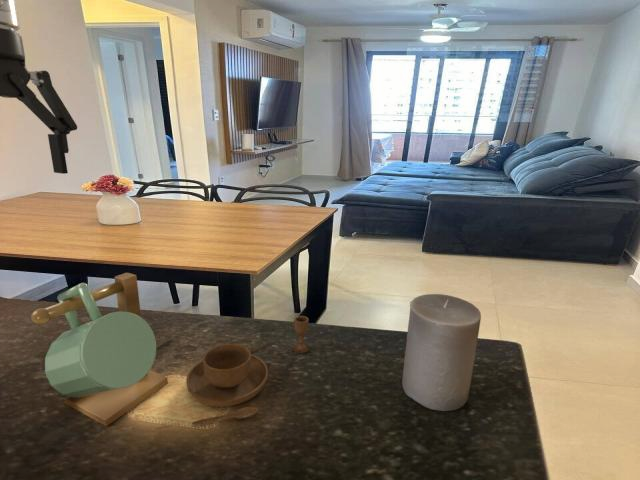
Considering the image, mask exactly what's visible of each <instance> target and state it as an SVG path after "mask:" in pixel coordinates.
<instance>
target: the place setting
mask: <svg viewBox="0 0 640 480" xmlns="http://www.w3.org/2000/svg"><path fill="white" fill-rule="evenodd" d="M293 322H294V323H293V324H294V327H293V328H294V332H295V334H297V335H298V339H297V342H298V343H297V344H295V345H294V346H293V347H292V350H293V352H294V353H297V354H305V353H308V352H309V351H310V347H309V346H308V345H307V344H305V339H304V336H305V335H306V334H307V333H308V331H309V325H310V323H309V317H307V316H305V315H298V316H295V318H294V321H293ZM261 349H263V345H262V343H260V344H257V345H253V346H251V347H246V346H245V345H242V344H239V343H225V344H223V343H222V344H219V345H217V346H214V347H211V348H210V349H208V350H207V351H206V352H205V353H204V355H203V358H202V360H200V361H198V362H197V363H195V365H193V366H192V367H191V369H189V371H188V373H187V375H186V379H185V385H186V389H187V391H188V394H190V396H191V397H192V398H193V399H194V400H195V401H197V402H199V403H201V404H203V405H205V406H210V407H215V408H216V407H218V408H219V407H220V408H221V407H222V408H223V407H231V406H236V405H237V406H238V405H240V404H242V403H245V402H247V401H249V400H251V399H252V398H255V397H256V396H257V395H258V394H260V392H262V390H263V389H264V387H265V386H266V384H267V382H268V378H269V369H268V365H267V364H266V362H265V361H264V360H263V359H262V358H260V357H258V356H257V355H255V354H252V352H255V351H257V350H261ZM258 411H259V408H257V407H255V406H245V407H244V406H243V407H241V408H239V409H237V410H236V411H234V412H231V413H227V414H222V415H218V416H213V417H207V418H203V419H199V420H198V419H197V420H195V421H193V422H192V423H191V425H200V424H201V425H202V424H206V423H209V422H213V421H214V422H215V421H217V420H222V419H223V420H224V419H228V418H235V419H238V420H239V419H240V420H241V419H248V418H251V417H253V416H254V415H256V414H257V413H258Z"/></svg>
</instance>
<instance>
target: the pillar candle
mask: <svg viewBox="0 0 640 480" xmlns="http://www.w3.org/2000/svg"><path fill="white" fill-rule="evenodd" d="M409 307H410V308H409V314H408V315H409V317H408V326H407V334H406V344H405V352H404V362H403V370H402V379H401V381H402V383H401V385H402V389H403V391H404V393H405V395H407V396H408V397H409V398H410V399H412V400H413V401H415V402H416V403H418V405H419V404H420V405H421V406H423V407H424V408H427V409H429V410H433V411H437V412H450V411H455V410H459V409H461V408H462V407H463V406H465V404H466V403H467V402H468V401H469V397H470V396H469V395H470V389H471V383H472V378H473V372H474V367H475V366H474V365H475V360H476V359H475V358H476V351H477V347H478V340H479V333H480V327H481V322H482V321H481V319H482V314H481V311H480V309H479V308H478V307H477V306H475V305H474V304H473V303H471V302H469V301H467V300H465V299H463V298H460V297H457V296H453V295H448V294H442V293H428V294H427V293H426V294H421V295H418V296H416V297H414V298H413V299H412V300H411V301H409Z"/></svg>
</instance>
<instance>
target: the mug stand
mask: <svg viewBox="0 0 640 480" xmlns="http://www.w3.org/2000/svg"><path fill="white" fill-rule="evenodd" d="M138 286H139V285H138V277H137V274H134V273H130V272H124V273H122V274H118V275H116V276H114V282H113V283H110V284H107V285H104V286H102V287H100V288H97V289H94V290H90V292H91V294H92V296H93V298H94V300H95V302H97V301H101V300H103V299H105V298H109V297H111V296H113V295H116V300H117V308H118V312H130V313H133V314H135V315H137V316H139V317H141V318H142V312H141V303H140V295H139V287H138ZM82 307H85V305H84V303H83V301H82V298H81V296H80V295H77V296H75V297H73V298H71V299H69V300H66V301H64V302H61V303H59V302H58V303H56V304H53V305H50V306H48V307H45V308H44V307H43V308H37V309H35V310H33V311H32V313H31V315H30V320H31V322H32V323H33V324H35V325H44V324H46V323H48V322H49V321H50V320H53V319H54V318H57V317H60V316H62V315H65V313H67V312H70V311H72V310H77V309H80V308H82ZM168 383H169V378H168V376H165V375H163V374H161V373H158V372H155V371H154V370H151V369H150V370H149V372H148V373H147V374H146V375H145V376H144V377H143V378H142V379H141V380H140V381H138V382H137V383H135V384H133V385H131V386H129V387H126V388H121V389H117V390H112V391H107V392H103V393H98V394H94V395H89V396H83V397H78V398H76V397H71V396H70V397H69V398H67V399H65V400H63V401H62V403H63V404H65V405H66V406H68V407H70V408H72V409H73V410H75V411H77V412H79V413H81V414H82V415H84V416H86V417H88V418H90V419H92V420H94V421H95V422H98V423H99V424H101V425H103V426H104V427H108V426H109V425H110V424H112V423H113V422H115V421H116V420H118V419H119V418H120V417H122V416H123V415H124V414H126V413H127V412H129V411H130V410H132V409H134V408H135V407H136V406H137V405H139V404H140V403H142V402H143V401H144V400H146V399H147V398H148V397H151V395H154V393H156V392H157V391H158V390H160V389H161V388H163V387H164V386H166V385H167V384H168Z"/></svg>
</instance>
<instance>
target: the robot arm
mask: <svg viewBox="0 0 640 480" xmlns="http://www.w3.org/2000/svg"><path fill="white" fill-rule="evenodd" d="M20 29H21V26H20V21H19V15H18V9H17V2H16V0H0V97H1V98H6V99H7V98H8V99H17V100H18V101H19V102H21V103H22V104H24V105H25V106H26V107H27V108H28V109H29V111H31V112H32V113H33V115H35V116H36V117H37V118H38V120H39V121H41V122H42V124H44V126H46V127H47V128H48V129H49V130H50V131H51V132H52V133H48V134H47V138H48V144H49V151H50V157H51V162H52V168H53V169H52V170H53V173H55V174H62V175H63V174H64V175H66V174H68V166H67V165H68V164H67V160H66V159H67V158H66V154H69V150H70V149H69V143H68V135H70V133H71V132H73V131H77V130H78V125H77V123H76V121H75V120H74V119H73V117H72V115H71V114H70V112H69V110H68V109H67V106H66V105H65V104H64V102H63V100H62V99H61V96H59V93H58V92H57V91H56V89H55V88H54V86H53V82H52V78H51V75H50V72H48V71H47V70H34V71H29V69H28V68H27V66H26V54H25V48H24V43H23V38H22V36H21V34H20V33H18V31H20ZM30 81H31V84H33V85H34V86H36V88H37V91H38V92H39V94H40V95H41V97H42V98H43V101H44V102H45V103H46V105H47V106H48V107H49V109H50V110H49V109H48V108H47V106H45V104H44V103H42V102H41V101H40V99H39V98H38V97H37V95H36V93H35V92H34V91H33V90H32V89H31V88H30V87H29V86H28V84H29V82H30Z"/></svg>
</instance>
